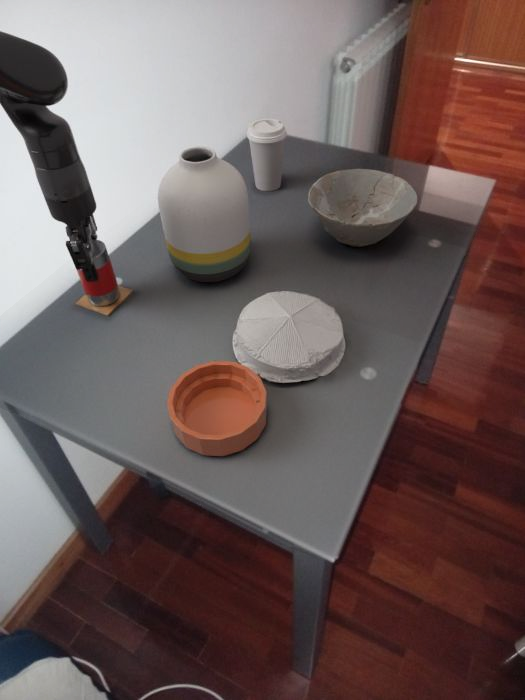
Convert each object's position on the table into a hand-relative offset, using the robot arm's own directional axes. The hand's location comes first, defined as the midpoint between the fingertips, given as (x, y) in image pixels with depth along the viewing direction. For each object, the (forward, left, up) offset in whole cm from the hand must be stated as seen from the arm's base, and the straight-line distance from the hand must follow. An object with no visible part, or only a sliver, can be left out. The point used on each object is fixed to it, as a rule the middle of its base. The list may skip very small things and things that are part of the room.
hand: (94, 268), depth 92 cm
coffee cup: (+53, -10, -8) cm, 54 cm away
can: (0, 0, -7) cm, 7 cm away
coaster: (0, 0, -7) cm, 7 cm away
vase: (+18, -14, -8) cm, 24 cm away
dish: (-15, -35, -7) cm, 39 cm away
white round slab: (+4, -38, -8) cm, 39 cm away
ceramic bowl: (+41, -38, -8) cm, 56 cm away
